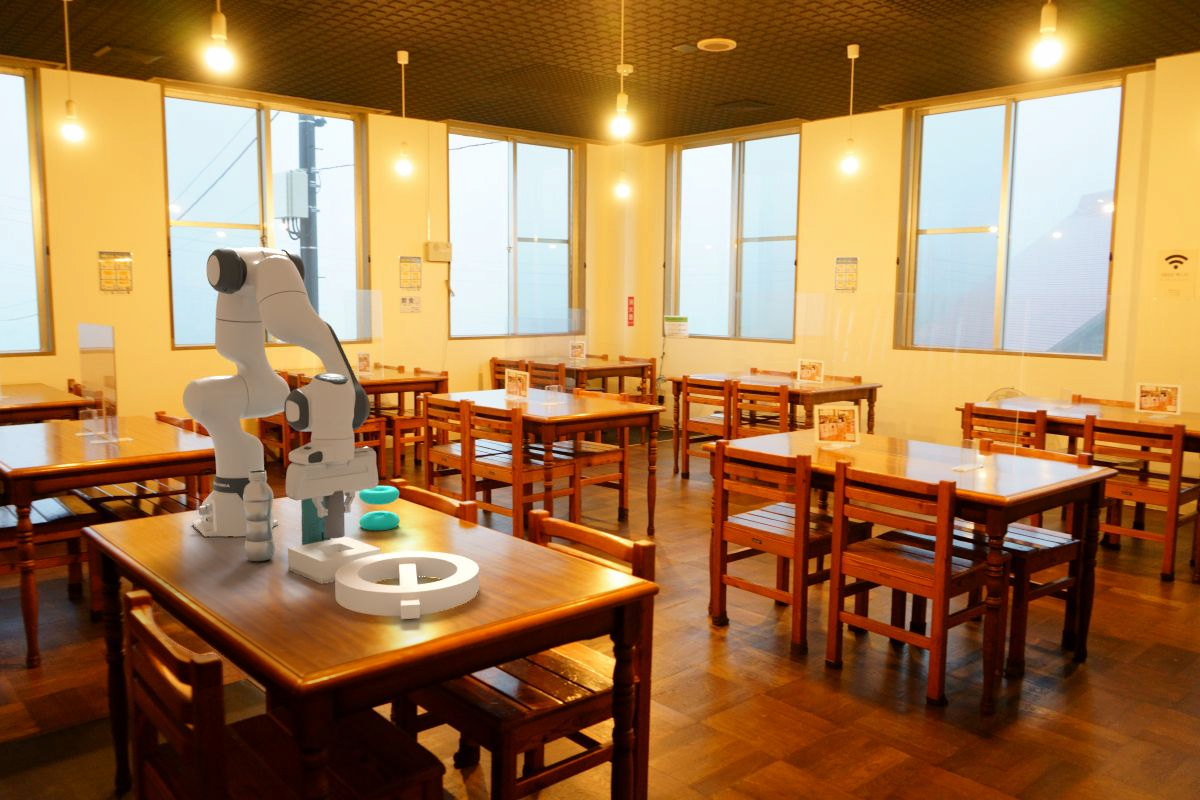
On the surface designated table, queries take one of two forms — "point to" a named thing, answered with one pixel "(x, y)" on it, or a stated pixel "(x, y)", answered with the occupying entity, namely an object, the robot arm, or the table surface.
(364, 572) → the white circle with bar
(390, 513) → the donuts
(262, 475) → the plastic bottle
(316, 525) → the beverage bottle
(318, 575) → the stand
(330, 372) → the robot arm
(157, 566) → the table surface
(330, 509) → the grey rectangular block
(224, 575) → the table surface
